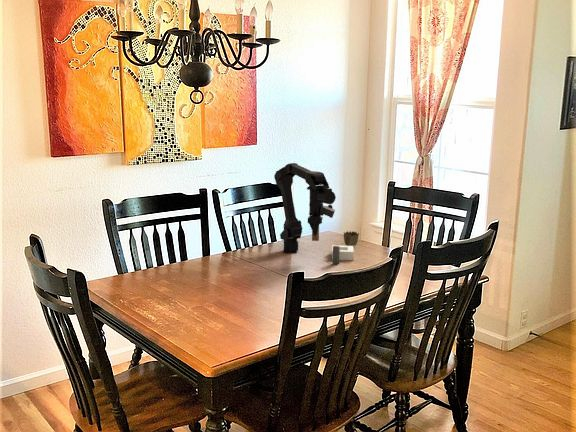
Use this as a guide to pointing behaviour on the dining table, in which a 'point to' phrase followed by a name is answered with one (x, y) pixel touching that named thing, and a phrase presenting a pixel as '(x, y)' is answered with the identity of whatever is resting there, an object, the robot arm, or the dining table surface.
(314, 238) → the square peg
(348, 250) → the socket block
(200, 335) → the dining table surface
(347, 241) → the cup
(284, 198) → the robot arm
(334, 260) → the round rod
